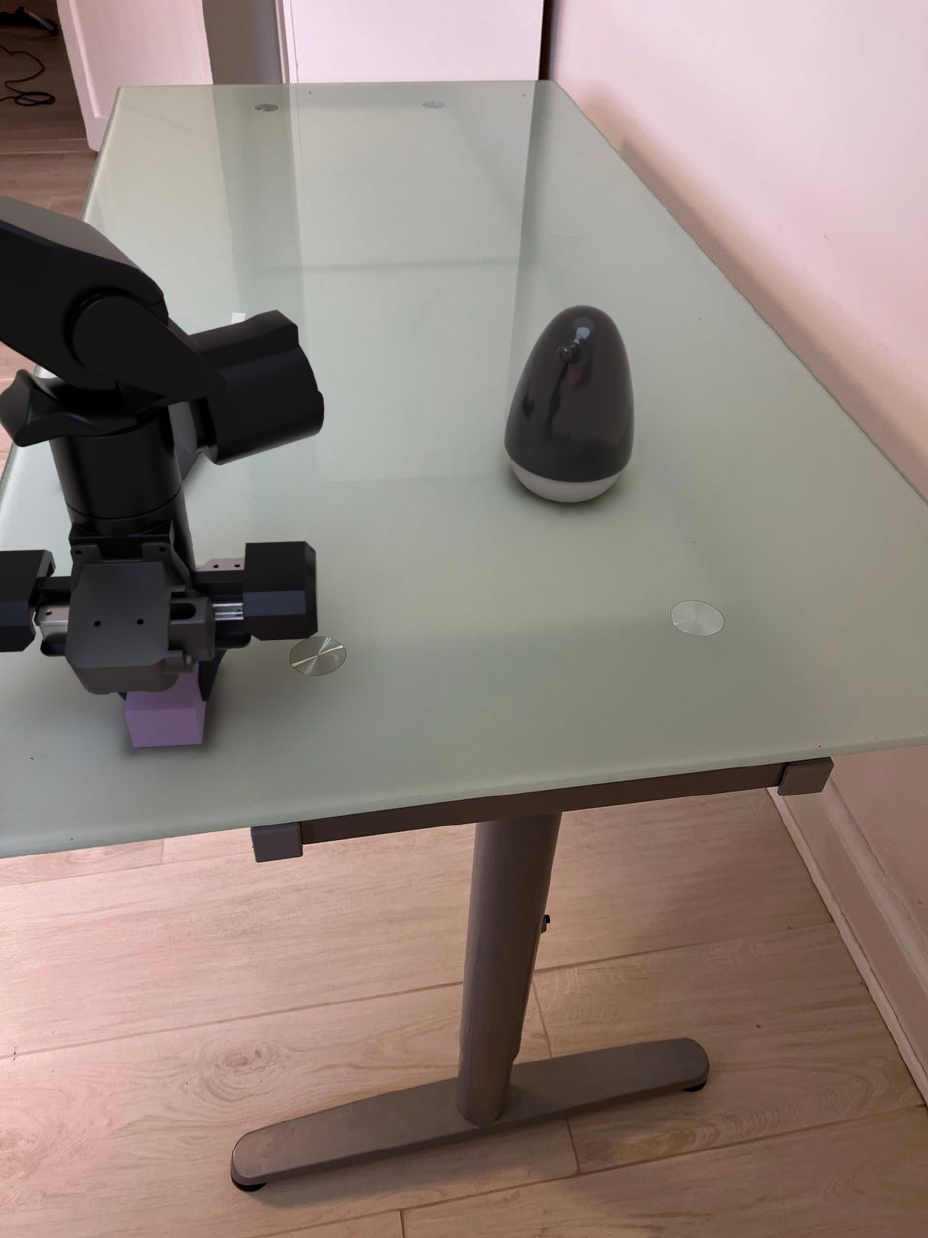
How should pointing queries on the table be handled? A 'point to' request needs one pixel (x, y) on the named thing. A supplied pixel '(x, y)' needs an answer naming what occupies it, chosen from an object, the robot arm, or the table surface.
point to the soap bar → (167, 714)
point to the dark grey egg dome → (573, 408)
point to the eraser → (238, 317)
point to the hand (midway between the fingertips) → (169, 698)
